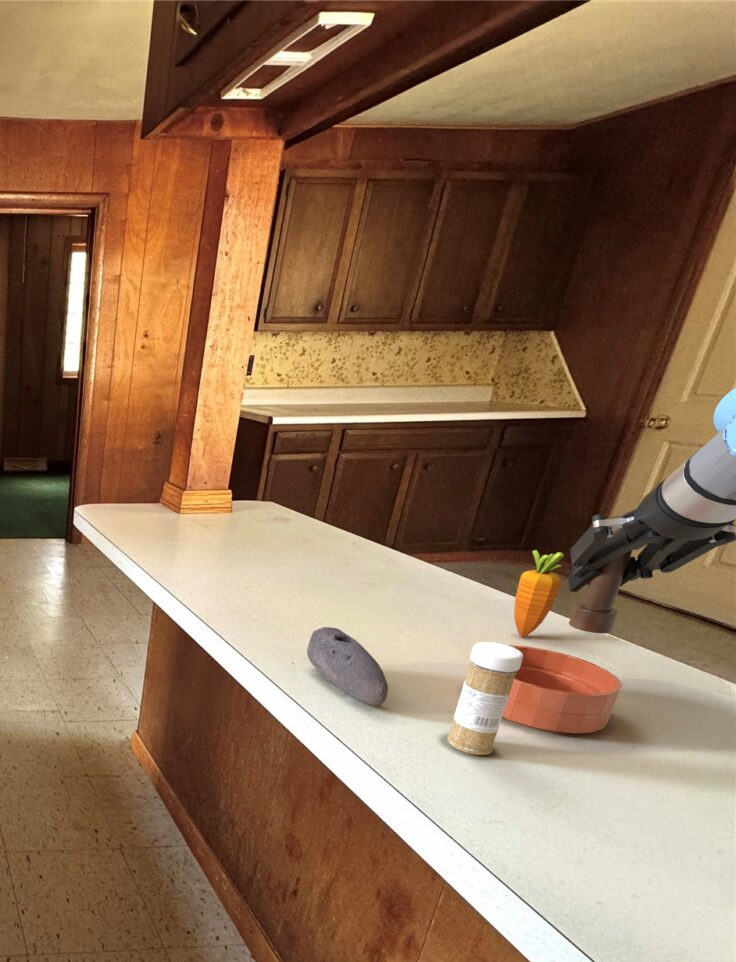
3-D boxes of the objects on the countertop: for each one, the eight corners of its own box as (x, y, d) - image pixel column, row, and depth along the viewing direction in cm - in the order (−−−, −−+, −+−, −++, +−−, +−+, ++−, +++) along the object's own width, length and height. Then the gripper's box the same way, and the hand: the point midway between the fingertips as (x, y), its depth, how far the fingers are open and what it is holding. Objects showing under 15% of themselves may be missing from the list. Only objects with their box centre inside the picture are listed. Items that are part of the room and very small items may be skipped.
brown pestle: (606, 624, 95) (646, 516, 89) (614, 635, 91) (656, 524, 85) (565, 619, 97) (601, 512, 91) (572, 629, 94) (609, 520, 88)
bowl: (591, 697, 91) (606, 659, 89) (618, 749, 80) (636, 706, 78) (463, 674, 98) (473, 637, 96) (471, 718, 87) (484, 678, 85)
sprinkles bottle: (489, 742, 82) (521, 645, 77) (493, 761, 79) (527, 660, 74) (444, 732, 85) (472, 637, 80) (446, 750, 81) (475, 652, 76)
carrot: (495, 630, 112) (521, 545, 106) (528, 631, 111) (556, 545, 106) (515, 642, 107) (543, 555, 102) (549, 643, 107) (580, 555, 101)
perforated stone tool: (397, 715, 89) (409, 669, 86) (358, 716, 89) (369, 670, 86) (334, 664, 103) (342, 623, 100) (300, 665, 103) (308, 624, 100)
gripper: (794, 471, 74) (658, 566, 94) (607, 467, 80) (517, 557, 100) (808, 530, 71) (666, 614, 91) (613, 521, 77) (520, 602, 97)
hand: (588, 584), depth 95 cm, fingers closed on brown pestle, 3 cm apart
